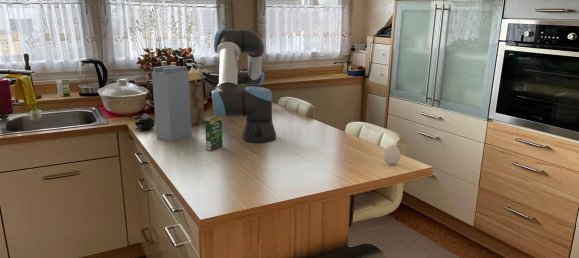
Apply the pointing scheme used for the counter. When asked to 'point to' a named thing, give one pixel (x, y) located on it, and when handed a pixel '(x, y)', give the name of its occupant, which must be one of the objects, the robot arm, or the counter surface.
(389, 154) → the egg
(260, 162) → the counter surface
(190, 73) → the cream long bar
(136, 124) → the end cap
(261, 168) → the counter surface
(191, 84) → the tall brown block
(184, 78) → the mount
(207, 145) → the coffee box
